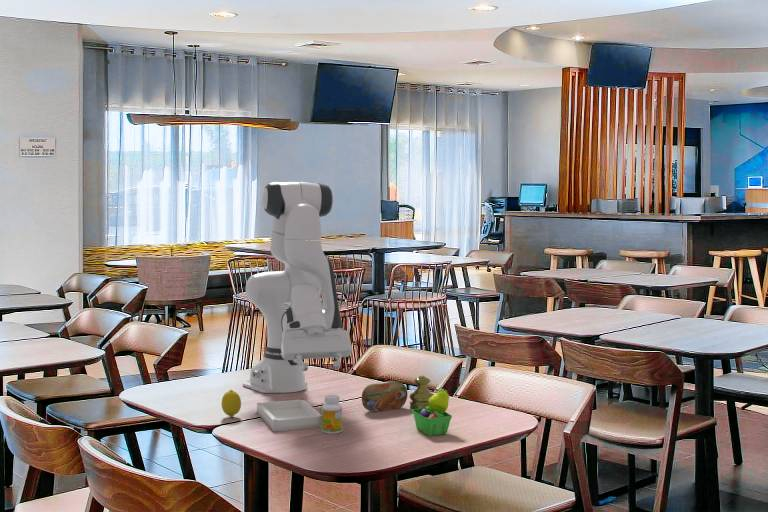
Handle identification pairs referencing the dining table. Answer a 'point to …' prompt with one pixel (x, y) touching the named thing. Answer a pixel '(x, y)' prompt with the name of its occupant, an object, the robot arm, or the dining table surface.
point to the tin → (384, 396)
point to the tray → (289, 415)
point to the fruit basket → (434, 415)
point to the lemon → (231, 403)
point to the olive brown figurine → (420, 394)
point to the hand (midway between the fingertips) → (321, 368)
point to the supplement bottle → (331, 415)
